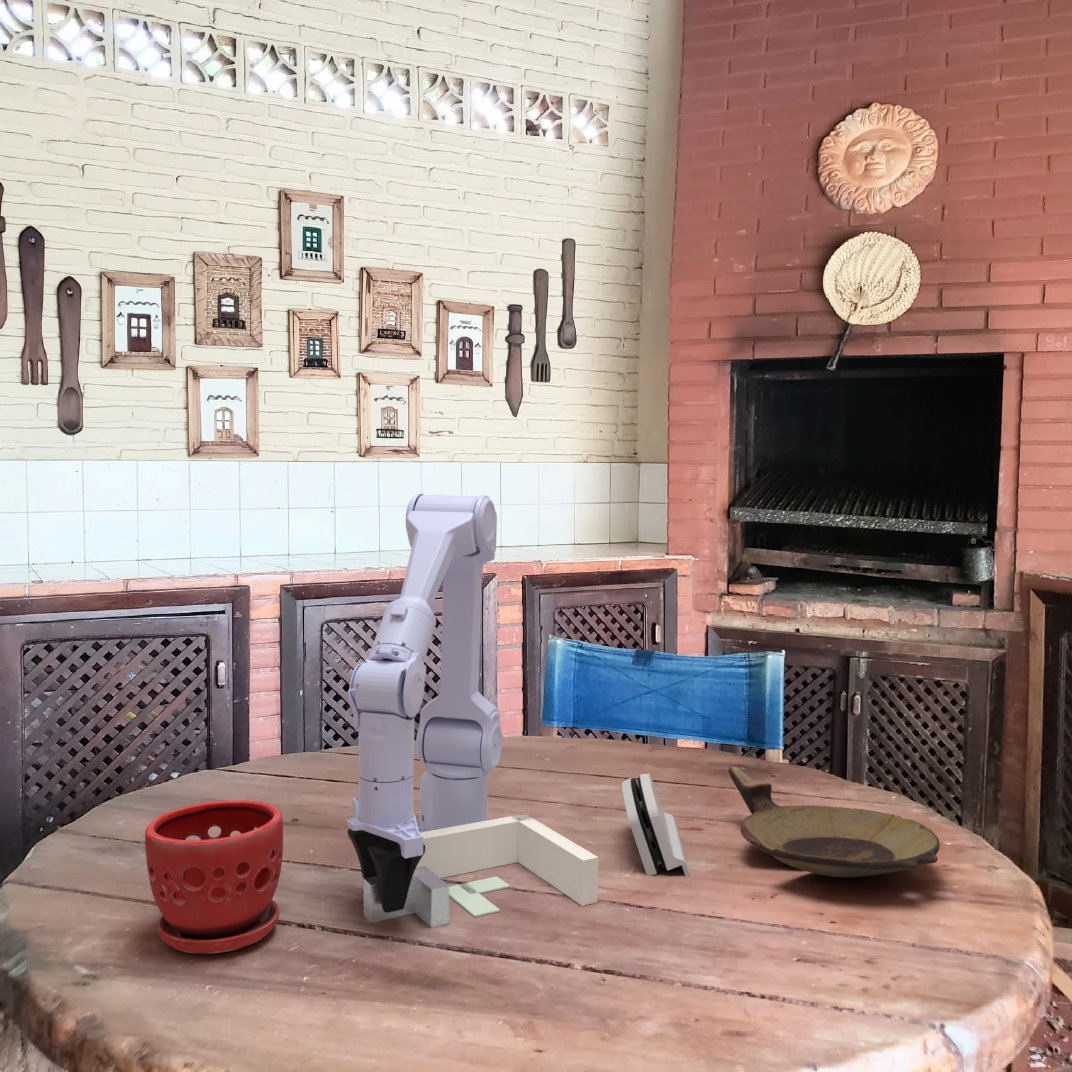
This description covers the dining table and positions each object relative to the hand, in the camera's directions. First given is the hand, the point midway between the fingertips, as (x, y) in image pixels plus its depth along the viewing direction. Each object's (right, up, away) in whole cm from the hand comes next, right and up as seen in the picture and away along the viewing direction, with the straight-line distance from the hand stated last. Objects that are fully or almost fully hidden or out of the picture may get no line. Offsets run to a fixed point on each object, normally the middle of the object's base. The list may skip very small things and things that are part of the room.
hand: (385, 901), depth 107 cm
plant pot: (-16, -2, -5) cm, 17 cm away
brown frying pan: (+52, -2, +18) cm, 55 cm away
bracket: (+2, -2, -1) cm, 3 cm away
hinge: (+30, -1, +20) cm, 36 cm away
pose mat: (+10, -1, +5) cm, 12 cm away
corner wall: (+11, -1, +7) cm, 13 cm away
